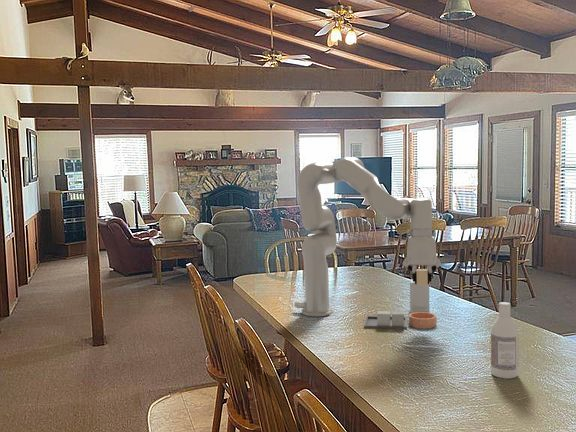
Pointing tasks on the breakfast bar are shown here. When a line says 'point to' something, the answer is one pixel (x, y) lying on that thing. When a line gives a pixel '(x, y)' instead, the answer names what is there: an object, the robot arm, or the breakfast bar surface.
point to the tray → (372, 323)
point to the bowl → (422, 320)
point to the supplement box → (419, 297)
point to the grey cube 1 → (383, 318)
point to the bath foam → (504, 344)
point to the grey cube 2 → (397, 318)
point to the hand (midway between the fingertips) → (422, 283)
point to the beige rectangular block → (422, 276)
